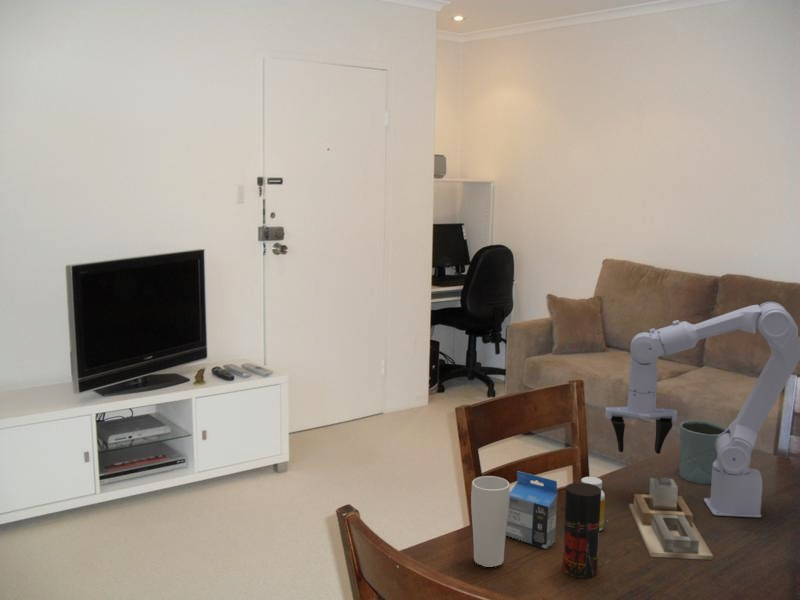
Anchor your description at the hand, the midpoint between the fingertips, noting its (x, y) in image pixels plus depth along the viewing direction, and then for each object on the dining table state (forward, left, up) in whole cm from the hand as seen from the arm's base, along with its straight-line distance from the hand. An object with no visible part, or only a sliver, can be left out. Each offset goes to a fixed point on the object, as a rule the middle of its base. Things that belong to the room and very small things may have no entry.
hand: (638, 451), depth 173 cm
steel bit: (-3, +11, -10) cm, 15 cm away
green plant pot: (-17, -14, -11) cm, 24 cm away
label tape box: (+24, +23, -11) cm, 35 cm away
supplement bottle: (+12, +16, -11) cm, 23 cm away
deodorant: (+16, +34, -11) cm, 39 cm away
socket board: (-3, +16, -10) cm, 20 cm away
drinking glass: (+32, +33, -11) cm, 47 cm away
